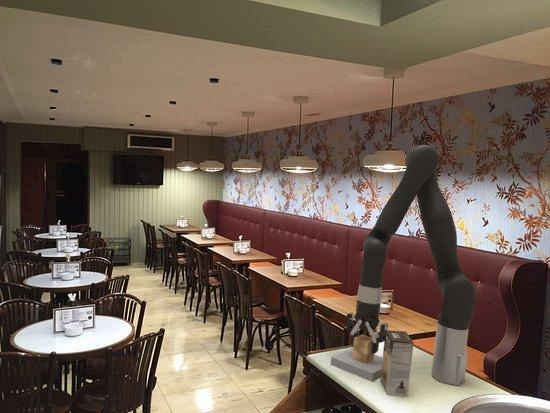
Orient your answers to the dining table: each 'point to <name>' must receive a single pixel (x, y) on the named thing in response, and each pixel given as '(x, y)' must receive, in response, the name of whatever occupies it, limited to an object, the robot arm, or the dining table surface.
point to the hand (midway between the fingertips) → (363, 349)
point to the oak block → (363, 349)
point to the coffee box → (396, 362)
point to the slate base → (358, 365)
